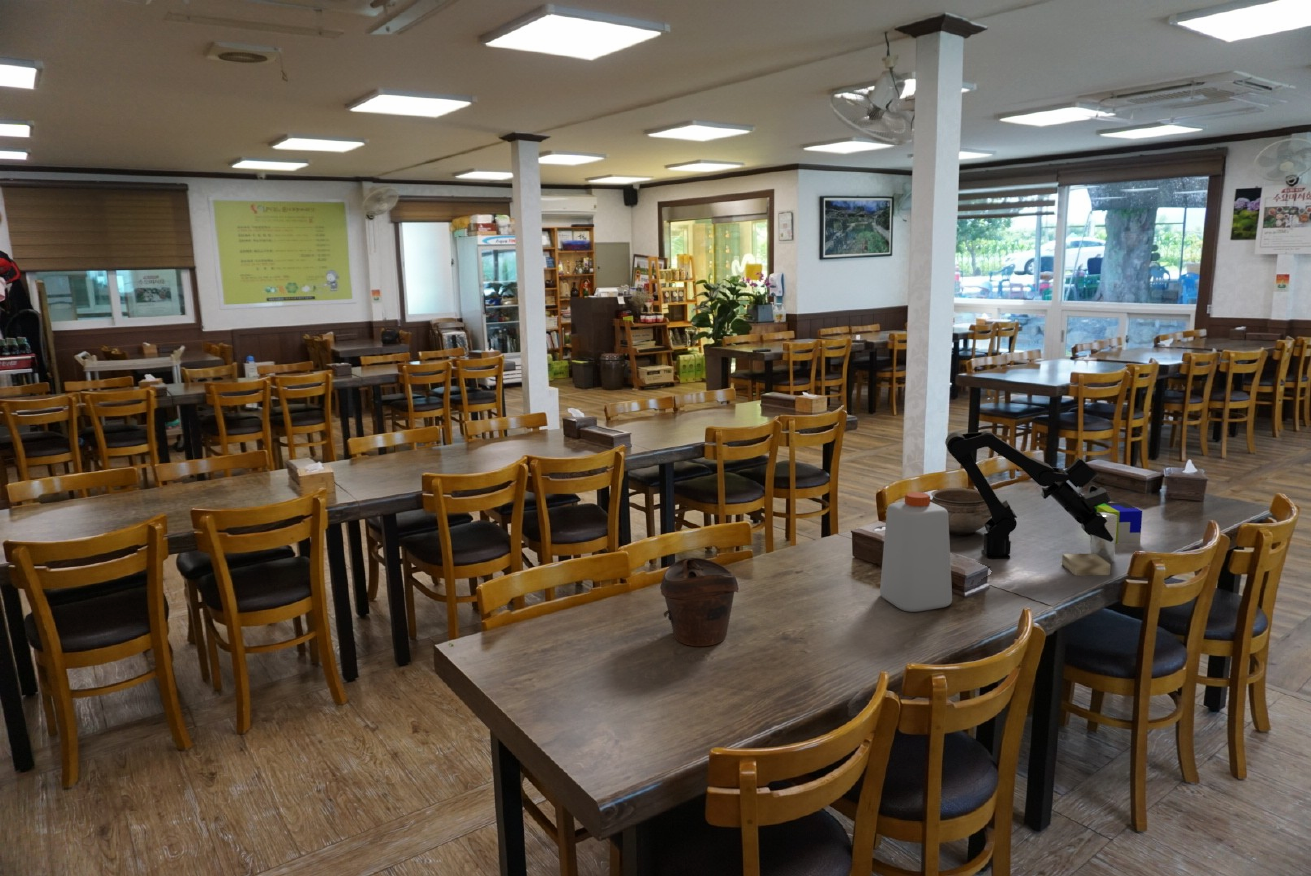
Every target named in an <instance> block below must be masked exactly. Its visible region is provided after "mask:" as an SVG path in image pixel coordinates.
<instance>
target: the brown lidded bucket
mask: <svg viewBox="0 0 1311 876" xmlns="http://www.w3.org/2000/svg"><path fill="white" fill-rule="evenodd" d="M739 590H740V589H739V585H738V582H737V577H736V575H734V574H733V572H732V571H729V570H728V569H727V568H726V567H725V566H723V565H721V564H719V563H717V562H716V561H712V560H710V559H707V558H703V557H702V558H701V557H693V556H692V557H688V558H682V559H680V560H678V561H675V562H674V563H672V564H671V565H669V567H668V568H667V569H666V571H665V573H664V574H663V576H662V579H661V583H660V593H661V596H663V597H664V598H665V604H666V607H667V610H666V611H665V612H664V613H663V616H664V617H665V618H667V619H668V620H669V621H670V625H671V628H672V632H673V633H672V634H673V636H674V638H675V639H676V641H677V642H680V643H682V644H683V645H687V646H691V647H707V646H713V645H717V644H719V643H721V642H722V641H724V640H725V639H726V637H727V635H728V628H729V623H730V617H731V612H732V608H733V603H734V596H735V592H736V593H739Z"/></svg>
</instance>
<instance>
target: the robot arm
mask: <svg viewBox="0 0 1311 876" xmlns="http://www.w3.org/2000/svg"><path fill="white" fill-rule="evenodd" d="M944 441H945V442H944V443H945V445H946V448H947V451H948V453H949V454H950V455H951V456H952V457H953V458H954V459H955V461H957V463H959V464H960V466H962V468H963V469H964V471H965V472H966V474H967V476H968V478H969V479H970V480H971V481H972V483H973V486H974V487H975V488H976V490H978V491H979V493H980V495H981V496H982V498H983V500H984V501H985V503H986V504H987V507H988V509H989V512H990V515H991V519H990V520H988V521H987V522H986V523H985V524H984V525H985V526H984V528H985V531H986V532H984V533H983V548H982V549H981V550H980V552H981V553H982V554H983V555H984V556H985V557H986V558H987V559H1010V558H1011V555H1010V554H1011V545H1012V541H1011V540H1010V534H1011V533H1012V532H1013V531H1015V529H1016V528H1017V525H1018V524H1017V520H1016V519H1017V518H1018V516H1017V514H1016V513H1015V511H1014V510H1013V509H1012V507H1011V505H1010V503H1009V502H1008V500H1007V499H1006V500H1004V501H1001V500H1000V498H999V497H998V496H997V494H996V493H995V491H994V490H993V488H992V487H991V485H990V483H989V481H988V480H987V478H986V477H985V475H984V473H983V472H982V470H981V469H980V467H979V466H978V464H977V462H976V461H975V459H974V456H973V453H972V451H975V450H979V449H983V448H988V449H991V450H992V451H993V452H995V453H996V454H998V455H999V456H1000V457H1003V458H1004V459H1006V460H1007V461H1009V462H1010V463H1012V464H1014V465H1015V466H1016V467H1018V468H1020V469H1021V470H1022V471H1024V473H1026V474H1027V475H1028V476H1029V478H1031V479H1032V480H1033V481H1034V482H1035V483H1036V484H1037V485H1039V486H1041V487H1040V489H1041V497H1042V498H1043V499H1044V500H1046V499H1047V498H1048V497H1052V498H1053V499H1054V500H1055V501H1056V502H1057V503H1058V504H1059V505H1060V506H1061V507H1062V508H1063V509H1064V510H1065V511H1066V513H1068V514H1069V515H1070V516H1071V517H1072V518H1074V520H1075V521H1076V522H1077V523H1078V524H1080V527H1081V529H1082V530H1083V531H1084V532H1085V533H1086V534H1087V535H1088V536H1092V535H1094V536H1097V537H1099V538H1102V539H1104V540H1107V541H1109V542H1112V541H1113V540H1114V539H1113V538H1112V536H1111V535H1110V533H1109V532H1108V530H1107V529H1106V527H1105V523H1106V522H1107V520H1106V519H1105V518H1104V517H1103V516H1102V515H1101V514H1100V513H1098V512H1097V510H1096V508H1095V506H1099V505H1101V504H1104V503H1111V501H1112V500H1111V497H1110V495H1109V493H1108V491H1107V490H1106V489H1105V488H1104V487H1097V486H1096V485H1094V484H1092V485H1089V486H1088V489H1087V492H1086V493H1084V494H1082V493H1081V492H1078V491H1077V490H1076V489H1075V488H1079V489H1080V488H1084V487H1085V486H1087V485H1088V484H1089V483H1090V482H1092V480H1094V479H1095V478H1097V476H1099V474H1098V473H1097V471H1095V470H1094V469H1093V468H1092V467H1091V466H1090V464H1088V463H1086V462H1085V461H1084V460H1083V459H1082V458H1080V457H1077V458H1076V459H1075V460H1074V461H1073V463H1071V464H1070V465H1069V466H1067V467H1066V468H1065V469H1064V468H1061V467H1055V466H1051V465H1050V463H1046V462H1044V461H1042V460H1040V459H1036V458H1034V457H1031V456H1029V455H1026V454H1025V453H1023V452H1021V450H1019V449H1017V448H1016V447H1014V446H1012V445H1011V444H1009V443H1008V442H1006V441H1004V440H1003V439H1001V438H1000V437H998V436H996V434H994V433H993V432H992V431H990V430H984V431H979V432H978V431H977V432H967V433H959V432H952V433H950V434H948V435H947V437H946V438H945V440H944ZM1069 482H1070V483H1069ZM1070 484H1072V485H1070ZM1072 486H1074V487H1075V488H1074V487H1072Z"/></svg>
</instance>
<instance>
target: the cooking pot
mask: <svg viewBox="0 0 1311 876" xmlns="http://www.w3.org/2000/svg"><path fill="white" fill-rule="evenodd" d="M930 495H931V496H932V498H930V502H932V503H934V504H937V505H939V506H941V507H943V508H945V509H946V510H947V511H948V521H949V534H951V535H955V536H966V535H970V534H973V533H974V532H976V531H978V530H981V529H982V528H985V525H984V524H985V523H986V522H987V521H988V520H990V519H991V518H992V517H991V515H990V512H989V509H988V507H987V504H986V503H985V501H984V500H983V498H982V496H981V495H980V493H979V491H978V490H977V489H972V488H961V487H960V488H959V487H958V488H955V487H953V488H952V487H951V488H950V487H949V488H948V487H947V488H941V489H936V490H934V491H932V492H931V494H930Z"/></svg>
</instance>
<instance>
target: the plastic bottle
mask: <svg viewBox="0 0 1311 876" xmlns="http://www.w3.org/2000/svg"><path fill="white" fill-rule="evenodd" d="M930 499H931V496H930V495H929V493H925V492H921V491H915V492H914V491H913V492H911V491H910V492H908V493H905V495H904V501H898V502H892V503H890V504H889V505H888V506H887V508H886V517H885V518H886V519H885V529H884V541H883V551H882V565H881V572H880V573H881V576H880V585H879V587H880V588H879V594H880V597H882V599H884V600H886V601H887V602H888V603H890V604H891V605H893V606H895V607H896V608H898V609H899V610H901V611H905V612H908V613H909V612H910V613H914V612H915V613H917V612H918V613H919V612H924V611H930V610H937V609H943V608H947V607H949V606H950V605H951V604H952V602H953V592H952V591H953V589H952V569H951V567H952V566H951V546H950V544H951V543H950V533H949V521H948V511H947V510H946V509H945V508H943V507H941V506H939V505H937V504H934V503H932V502H930Z"/></svg>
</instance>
